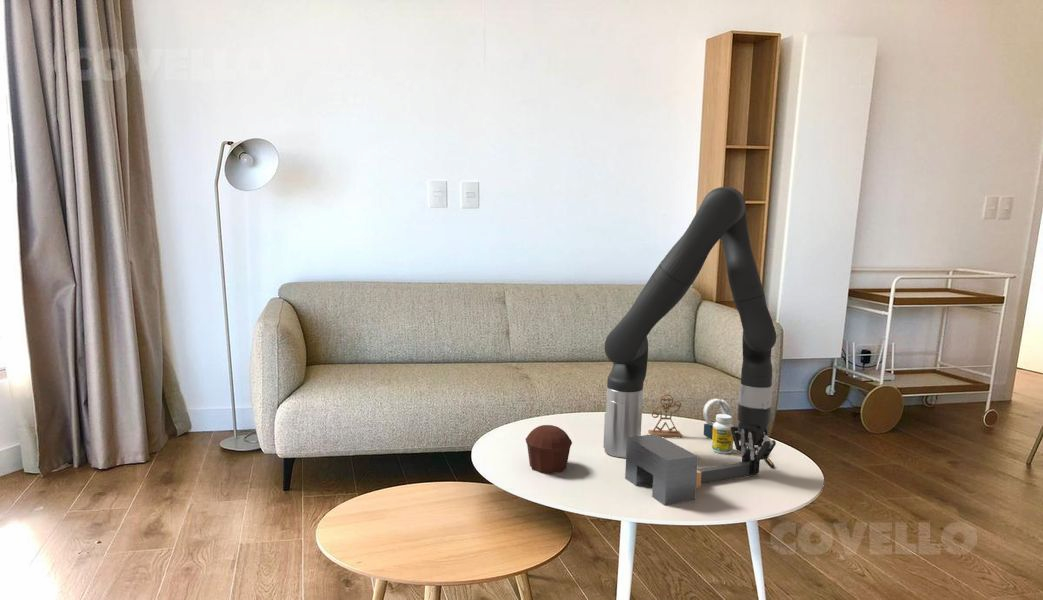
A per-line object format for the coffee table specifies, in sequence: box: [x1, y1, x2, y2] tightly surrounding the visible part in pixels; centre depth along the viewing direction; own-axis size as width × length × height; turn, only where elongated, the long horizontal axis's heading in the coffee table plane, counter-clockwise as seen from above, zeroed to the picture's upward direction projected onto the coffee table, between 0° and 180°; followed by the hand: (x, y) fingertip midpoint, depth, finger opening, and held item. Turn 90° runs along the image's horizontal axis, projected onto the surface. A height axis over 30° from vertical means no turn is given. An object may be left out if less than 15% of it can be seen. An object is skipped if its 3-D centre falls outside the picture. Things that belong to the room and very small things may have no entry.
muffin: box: [525, 424, 573, 475], centre depth 168 cm, size 12×11×10 cm
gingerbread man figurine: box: [647, 393, 683, 439], centre depth 194 cm, size 9×4×12 cm, turn 90°
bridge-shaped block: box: [624, 434, 699, 506], centre depth 156 cm, size 16×8×10 cm, turn 23°
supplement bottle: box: [711, 413, 734, 455], centre depth 183 cm, size 5×5×10 cm
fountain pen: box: [763, 457, 775, 469], centre depth 178 cm, size 14×1×2 cm, turn 176°
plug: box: [696, 461, 759, 489], centre depth 162 cm, size 4×25×4 cm, turn 113°
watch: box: [702, 398, 733, 440], centre depth 194 cm, size 6×8×11 cm
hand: (750, 472), depth 167 cm, fingers closed on plug, 2 cm apart
